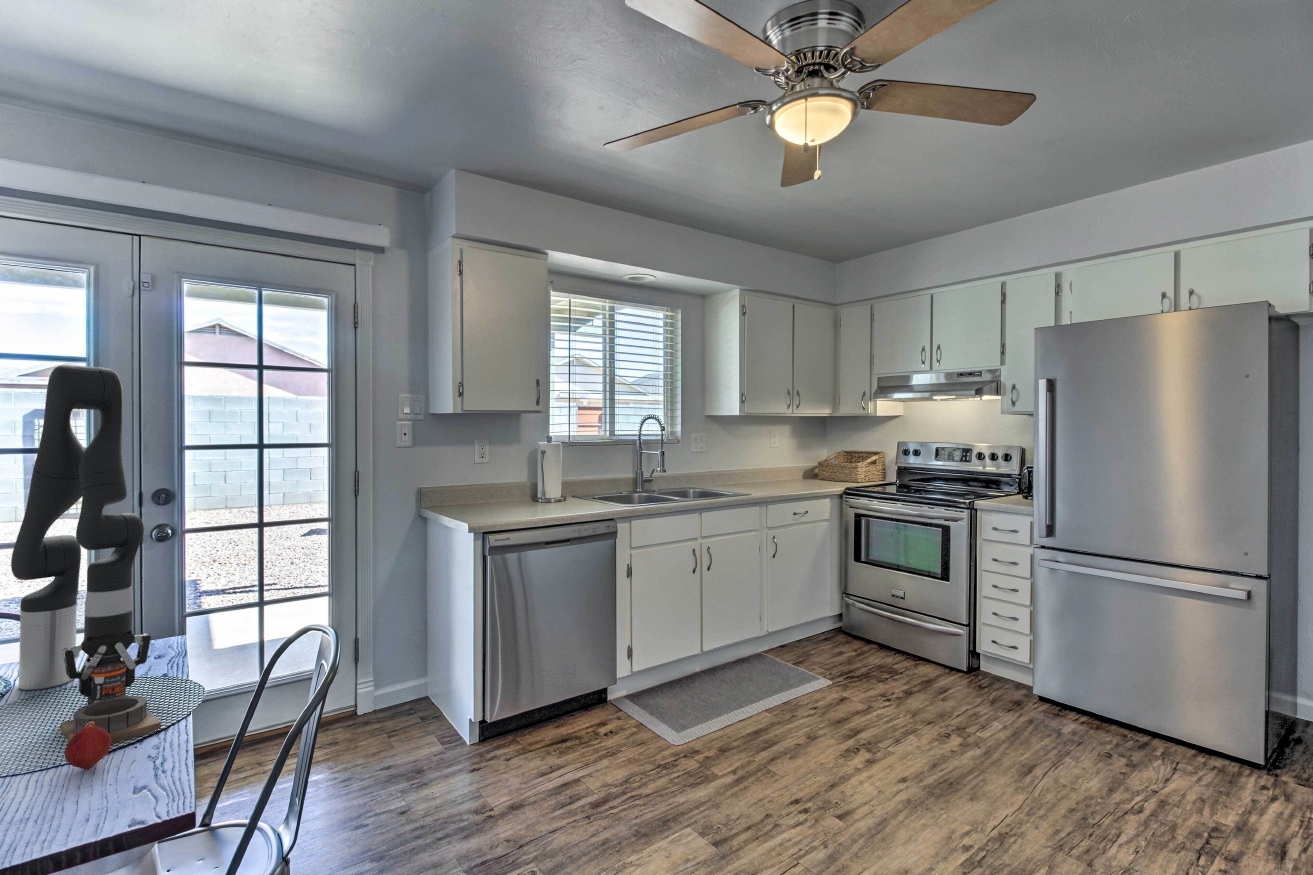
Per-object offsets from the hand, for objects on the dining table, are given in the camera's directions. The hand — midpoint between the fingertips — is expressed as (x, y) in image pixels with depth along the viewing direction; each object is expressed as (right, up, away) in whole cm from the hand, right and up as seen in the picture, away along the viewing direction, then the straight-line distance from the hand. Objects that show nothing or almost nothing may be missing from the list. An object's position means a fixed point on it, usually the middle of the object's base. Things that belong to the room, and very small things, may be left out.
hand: (107, 690), depth 130 cm
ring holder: (+9, -4, -9) cm, 14 cm away
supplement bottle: (0, -4, 0) cm, 4 cm away
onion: (+17, -4, -23) cm, 29 cm away
